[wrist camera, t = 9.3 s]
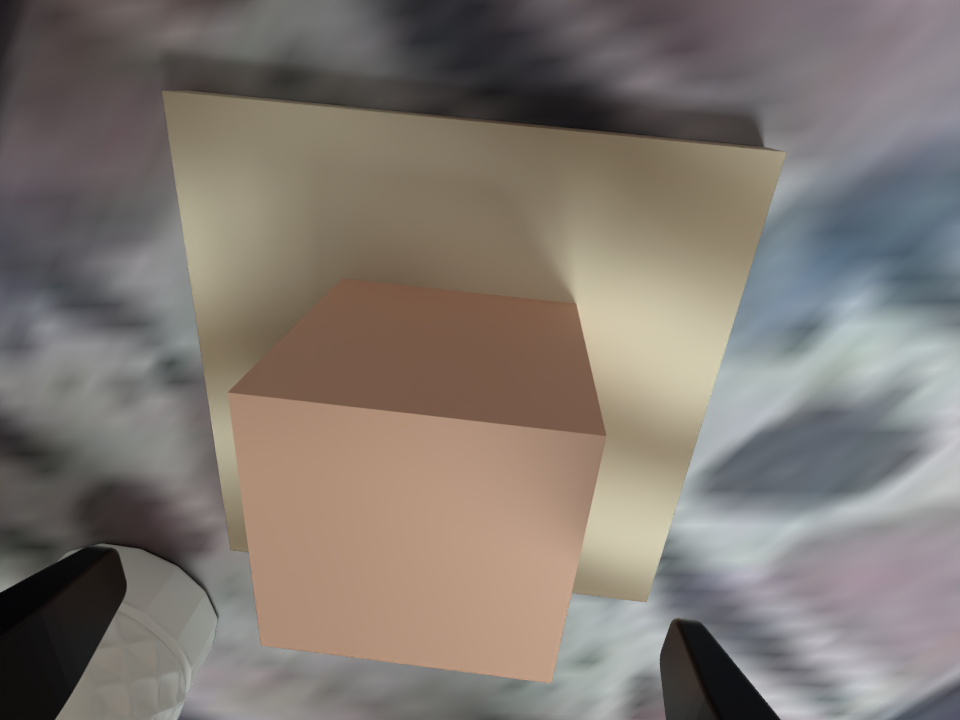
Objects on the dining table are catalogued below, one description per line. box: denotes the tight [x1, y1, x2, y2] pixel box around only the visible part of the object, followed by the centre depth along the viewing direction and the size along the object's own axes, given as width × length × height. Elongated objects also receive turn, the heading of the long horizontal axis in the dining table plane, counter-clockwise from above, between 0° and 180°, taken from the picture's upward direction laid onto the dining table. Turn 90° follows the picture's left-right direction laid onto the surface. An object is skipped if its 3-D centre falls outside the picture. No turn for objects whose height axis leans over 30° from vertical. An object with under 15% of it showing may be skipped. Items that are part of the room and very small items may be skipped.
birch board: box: [162, 91, 786, 602], centre depth 16 cm, size 14×14×1 cm
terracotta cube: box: [228, 279, 607, 683], centre depth 13 cm, size 6×6×6 cm
